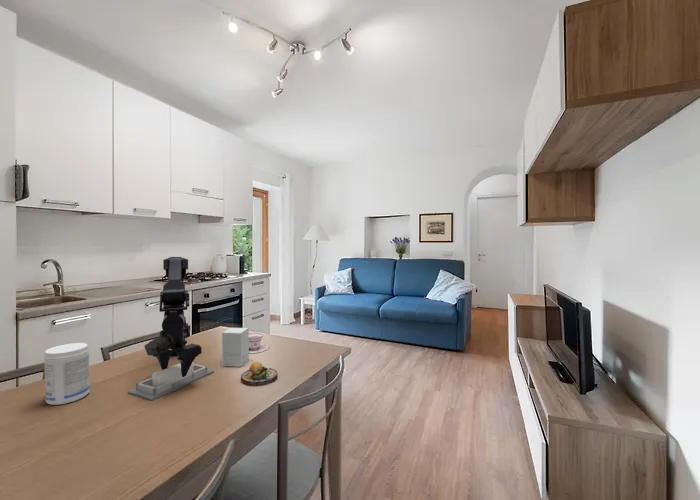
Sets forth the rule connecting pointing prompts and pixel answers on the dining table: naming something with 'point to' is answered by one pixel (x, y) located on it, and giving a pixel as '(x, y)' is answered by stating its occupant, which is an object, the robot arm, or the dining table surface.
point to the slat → (170, 375)
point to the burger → (258, 375)
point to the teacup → (256, 342)
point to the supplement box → (235, 347)
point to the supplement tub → (66, 373)
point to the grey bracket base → (167, 384)
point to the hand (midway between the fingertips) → (174, 374)
